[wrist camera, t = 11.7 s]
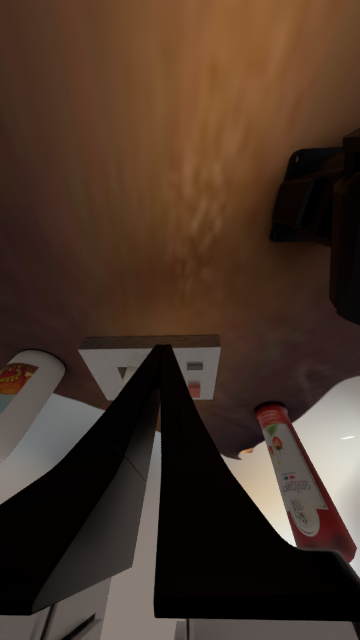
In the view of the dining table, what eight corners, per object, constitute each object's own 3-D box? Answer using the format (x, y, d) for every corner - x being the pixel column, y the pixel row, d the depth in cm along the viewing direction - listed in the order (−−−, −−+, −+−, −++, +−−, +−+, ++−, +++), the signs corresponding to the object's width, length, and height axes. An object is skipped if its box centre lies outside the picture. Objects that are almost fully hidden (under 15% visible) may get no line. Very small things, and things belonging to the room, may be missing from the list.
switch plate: (217, 334, 25) (221, 351, 22) (210, 386, 33) (213, 402, 31) (86, 337, 25) (75, 353, 23) (112, 387, 34) (106, 403, 31)
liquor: (262, 417, 41) (358, 682, 19) (246, 408, 38) (336, 708, 16) (291, 407, 38) (449, 713, 16) (275, 396, 35) (442, 753, 13)
